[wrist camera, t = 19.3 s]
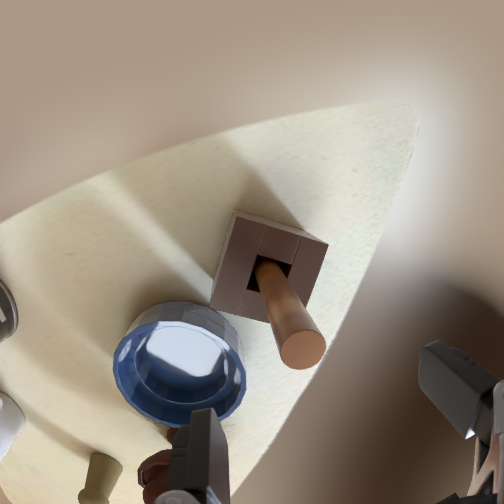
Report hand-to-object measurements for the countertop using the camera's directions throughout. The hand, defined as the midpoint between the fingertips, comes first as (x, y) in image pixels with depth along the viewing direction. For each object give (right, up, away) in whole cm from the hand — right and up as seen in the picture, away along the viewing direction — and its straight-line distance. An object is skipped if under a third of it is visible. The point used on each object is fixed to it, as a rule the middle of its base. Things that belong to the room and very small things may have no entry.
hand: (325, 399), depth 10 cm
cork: (-28, -32, +29) cm, 51 cm away
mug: (-46, -22, +26) cm, 57 cm away
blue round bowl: (-11, -7, +25) cm, 28 cm away
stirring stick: (-2, +5, +23) cm, 24 cm away
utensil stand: (-2, +5, +23) cm, 24 cm away
